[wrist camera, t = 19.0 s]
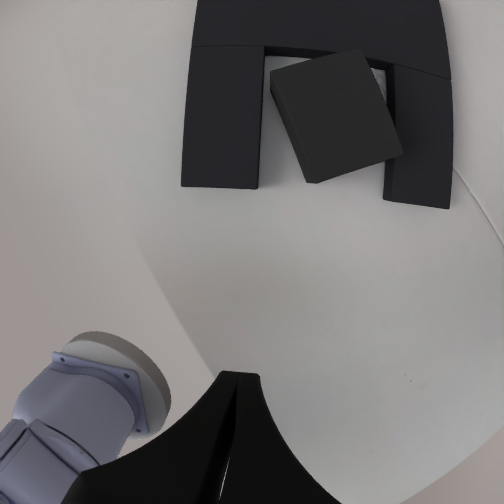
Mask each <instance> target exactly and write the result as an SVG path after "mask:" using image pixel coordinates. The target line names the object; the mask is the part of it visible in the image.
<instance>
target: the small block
mask: <svg viewBox="0 0 504 504" xmlns="http://www.w3.org/2000/svg"><path fill="white" fill-rule="evenodd" d="M270 92H271V94H272V96H273V99H274V101H275V103H276V106H277V108H278V111H279V113H280V116H281V118H282V120H283V123H284V125H285V128H286V130H287V133H288V135H289V138H290V140H291V143H292V146H293V148H294V151H295V153H296V156H297V159H298V161H299V164H300V167H301V169H302V172H303V175H304V177H305V180H306V182H307V183H315V184H317V183H320V182H322V181H325V180H328V179H331V178H334V177H337V176H340V175H343V174H346V173H349V172H352V171H355V170H358V169H361V168H364V167H367V166H370V165H373V164H377V163H380V162H383V161H386V160H389V159H392V158H395V157H399V156H402V155H404V152H403V149H402V146H401V143H400V140H399V137H398V134H397V131H396V129H395V126H394V123H393V121H392V118H391V115H390V113H389V110H388V108H387V105H386V103H385V100H384V98H383V95H382V93H381V91H380V88H379V86H378V84H377V82H376V79H375V77H374V75H373V73H372V71H371V68H370V66H369V64H368V62H367V60H366V58H365V56H364V54H363V52H362V50H361V48H359V49H354V50H349V51H344V52H340V53H335V54H331V55H327V56H323V57H319V58H315V59H311V60H307V61H304V62H300V63H296V64H293V65H290V66H286V67H283V68H280V69H276V70H273V71H271V72H270Z"/></svg>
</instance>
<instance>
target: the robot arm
mask: <svg viewBox="0 0 504 504" xmlns="http://www.w3.org/2000/svg"><path fill="white" fill-rule="evenodd" d="M51 357H52V361H53V362H52V363H50V365H48V366H47V367H46V368H45V369H44V370H43V371H42V372H41V373H40V374H39V375H38V376H37V377H36V378H35V379H34V380H33V381H32V382H31V383H30V384H29V385H28V386H27V387H26V388H25V389H24V390H23V391H22V392H21V393H20V395H19V396H18V398H17V400H16V403H15V406H14V410H13V419H12V420H11V421H10V422H9V423H8V424H7V425H6V426H5V427H4V428H3V430H2V431H1V432H0V504H341V503H340V502H339V501H337V500H336V499H335V498H334V497H333V496H332V495H330V494H329V493H328V492H327V491H326V490H325V489H324V488H323V487H322V486H321V485H320V484H319V483H318V482H317V481H316V480H315V479H314V478H313V477H312V476H311V475H310V474H309V473H308V471H307V470H306V469H305V468H304V467H303V466H302V465H301V463H300V462H299V461H298V460H297V458H296V457H295V456H294V454H293V453H292V451H291V450H290V448H289V447H288V445H287V444H286V442H285V441H284V439H283V437H282V436H281V434H280V432H279V430H278V428H277V426H276V424H275V422H274V420H273V418H272V416H271V414H270V411H269V409H268V406H267V404H266V401H265V398H264V395H263V391H262V387H261V382H260V376H259V375H258V374H257V373H245V372H233V371H221V372H220V373H219V375H218V376H217V378H216V379H215V381H214V382H213V383H212V385H211V386H210V387H209V389H208V390H207V391H206V393H204V395H203V396H202V397H201V398H200V399H199V400H198V401H197V403H196V404H195V405H194V406H193V407H192V408H191V409H190V410H189V411H188V412H187V413H186V414H185V415H184V416H183V417H182V418H180V419H179V420H178V421H177V422H176V423H175V424H174V425H172V426H171V427H170V428H169V429H167V430H166V431H165V432H163V433H162V434H161V435H159V436H158V437H156V438H155V439H153V440H152V441H150V442H149V443H147V444H145V445H144V446H142V447H140V448H138V449H137V450H135V451H133V452H131V453H129V454H127V455H125V456H122V457H121V458H118V459H117V457H118V455H119V453H120V451H121V449H122V447H123V445H124V443H125V441H126V439H127V437H128V435H129V433H130V431H131V432H135V433H139V434H144V435H147V434H148V433H149V427H148V423H147V418H146V413H145V408H144V403H143V398H142V392H141V386H140V381H139V375H138V373H137V372H136V371H134V370H131V369H126V368H121V367H116V366H111V365H107V364H102V363H98V362H94V361H90V360H86V359H82V358H78V357H74V356H70V355H67V354H63V353H59V352H56V351H54V352H52V353H51ZM126 373H127V374H128V375H127V374H126ZM228 461H229V463H228ZM227 465H228V468H227ZM226 469H227V472H226ZM225 472H226V476H225ZM224 476H225V480H224V485H223V489H222V493H221V488H222V483H223V479H224ZM220 493H221V497H220ZM219 499H220V500H219Z"/></svg>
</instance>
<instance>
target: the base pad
mask: <svg viewBox="0 0 504 504" xmlns="http://www.w3.org/2000/svg"><path fill="white" fill-rule="evenodd" d="M191 47H192V48H191V55H190V64H189V73H188V83H187V94H186V106H185V119H184V134H183V151H182V171H181V186H182V187H210V188H235V189H255V190H256V189H257V188H258V178H259V159H260V141H261V122H262V103H263V84H264V65H265V55H276V56H291V57H302V58H312V59H315V58H319V57H323V56H327V55H331V54H335V53H340V52H344V51H349V50H354V49H359V48H361V50H362V52H363V54H364V56H365V58H366V60H367V62H368V64H369V66H370V67H371V68H376V69H381V70H386V80H387V108H388V110H389V113H390V115H391V118H392V121H393V123H394V126H395V129H396V131H397V134H398V137H399V140H400V143H401V146H402V149H403V152H404V155H402V156H399V157H395V158H392V159H389V160H386V165H385V181H384V194H383V199H384V200H387V201H392V202H399V203H407V204H414V205H422V206H429V207H435V208H442V209H449V208H450V198H451V186H452V170H453V101H452V85H451V81H450V80H451V71H450V62H449V54H448V46H447V40H446V33H445V27H444V22H443V17H442V12H441V7H440V2H439V0H198V2H197V9H196V15H195V22H194V30H193V37H192V46H191Z"/></svg>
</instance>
